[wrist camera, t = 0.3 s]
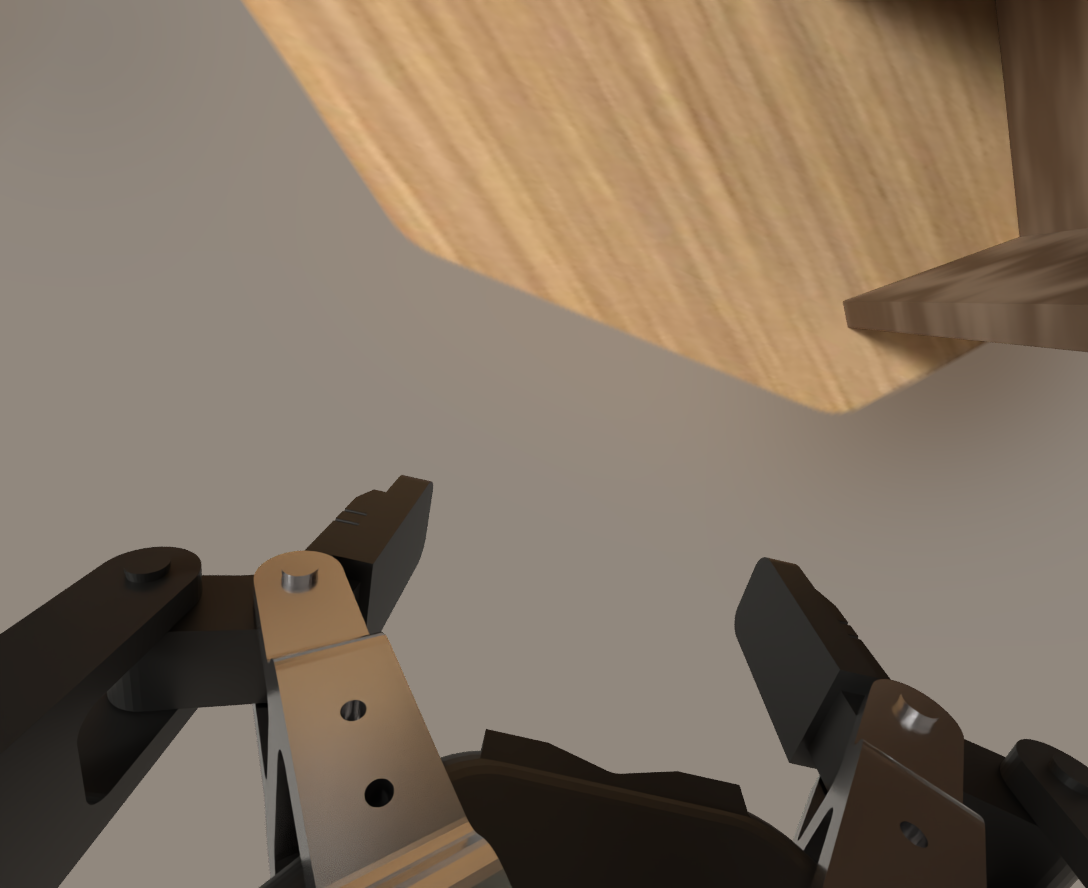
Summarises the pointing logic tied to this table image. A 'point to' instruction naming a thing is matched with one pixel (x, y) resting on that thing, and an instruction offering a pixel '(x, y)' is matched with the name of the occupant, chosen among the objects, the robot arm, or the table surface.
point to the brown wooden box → (1019, 205)
